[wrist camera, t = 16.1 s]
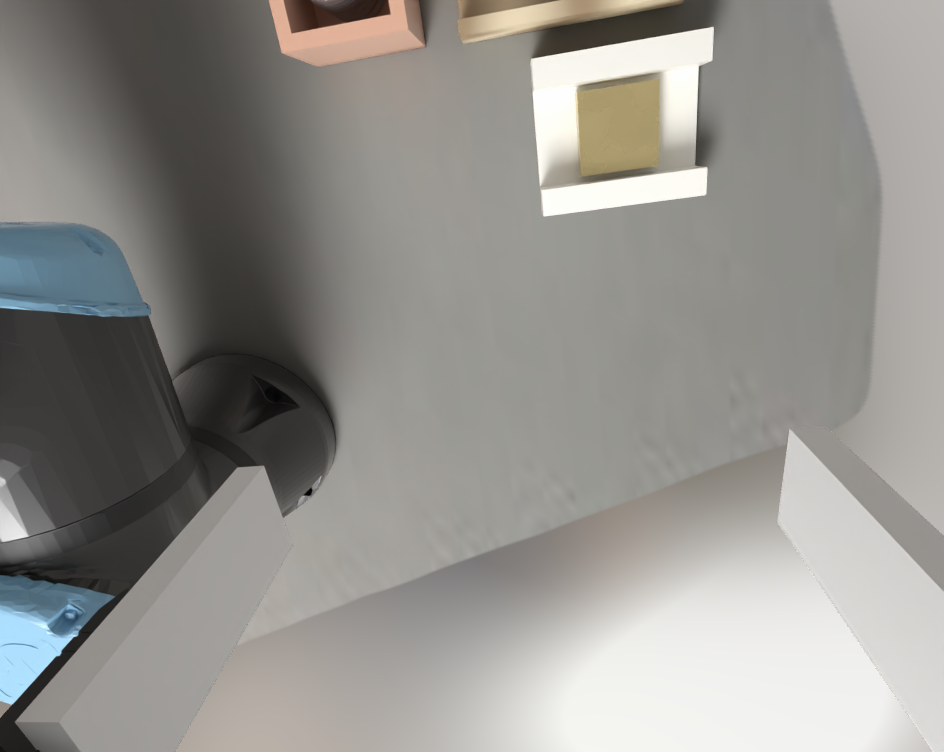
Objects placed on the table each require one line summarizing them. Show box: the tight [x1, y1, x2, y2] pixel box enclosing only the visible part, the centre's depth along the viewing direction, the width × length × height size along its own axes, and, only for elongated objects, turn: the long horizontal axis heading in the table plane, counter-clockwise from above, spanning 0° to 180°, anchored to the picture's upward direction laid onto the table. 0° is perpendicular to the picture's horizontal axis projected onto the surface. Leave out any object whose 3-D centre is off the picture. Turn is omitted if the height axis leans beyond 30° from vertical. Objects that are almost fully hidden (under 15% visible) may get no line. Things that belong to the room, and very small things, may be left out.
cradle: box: [530, 27, 714, 216], centre depth 32 cm, size 10×9×3 cm
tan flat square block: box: [575, 79, 660, 177], centre depth 32 cm, size 5×5×1 cm
